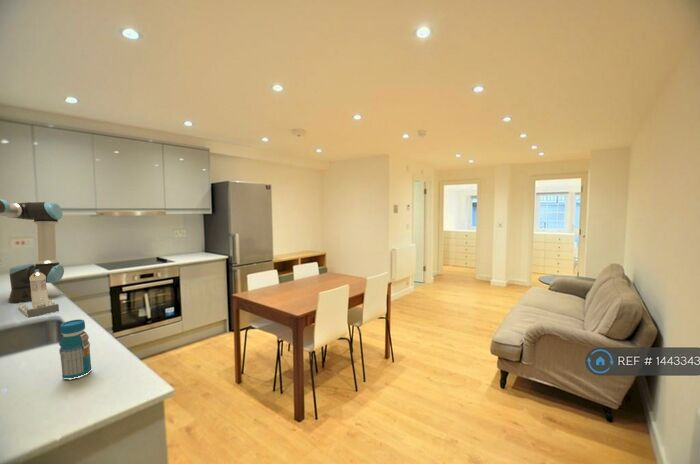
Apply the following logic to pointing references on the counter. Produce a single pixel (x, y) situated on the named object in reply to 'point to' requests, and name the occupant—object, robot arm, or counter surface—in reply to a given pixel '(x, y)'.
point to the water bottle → (38, 290)
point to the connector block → (42, 310)
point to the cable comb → (24, 308)
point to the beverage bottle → (74, 349)
